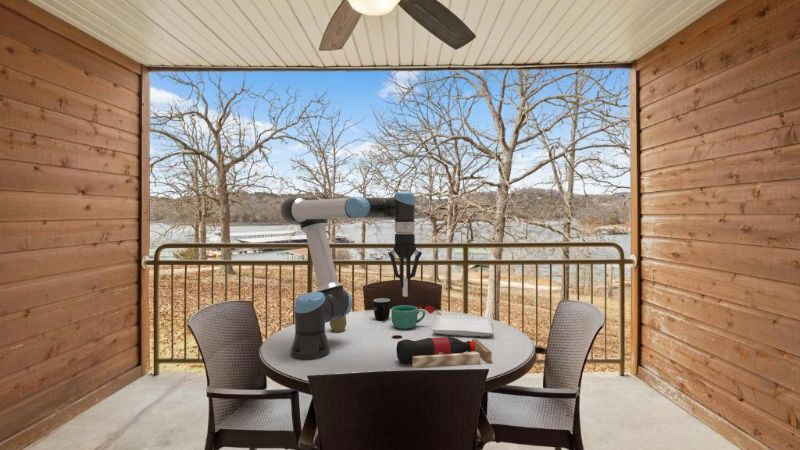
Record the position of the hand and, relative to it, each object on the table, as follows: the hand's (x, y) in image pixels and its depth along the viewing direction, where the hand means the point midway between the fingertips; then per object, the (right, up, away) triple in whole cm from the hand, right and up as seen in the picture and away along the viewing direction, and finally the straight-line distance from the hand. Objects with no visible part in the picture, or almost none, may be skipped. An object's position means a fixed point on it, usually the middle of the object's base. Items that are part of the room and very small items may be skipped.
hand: (405, 295), depth 152 cm
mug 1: (-11, -23, +60) cm, 65 cm away
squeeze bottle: (-31, -24, +40) cm, 56 cm away
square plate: (+28, -24, +41) cm, 55 cm away
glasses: (+12, -23, +65) cm, 71 cm away
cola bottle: (-3, -20, -2) cm, 21 cm away
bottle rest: (+16, -24, +3) cm, 29 cm away
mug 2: (+2, -24, +45) cm, 51 cm away
